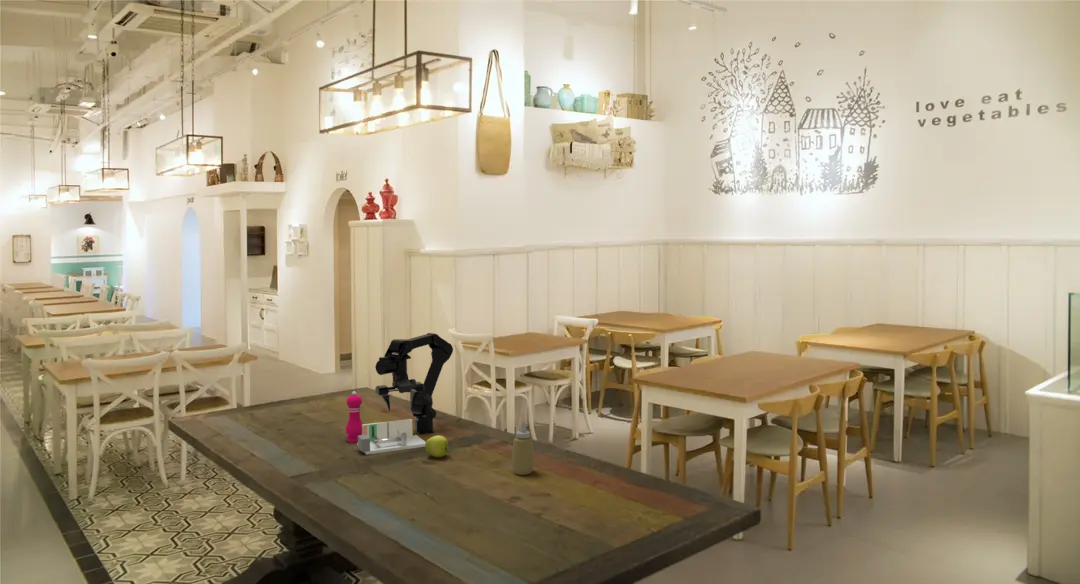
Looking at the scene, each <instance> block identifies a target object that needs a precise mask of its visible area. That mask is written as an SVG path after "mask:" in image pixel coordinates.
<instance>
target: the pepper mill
mask: <svg viewBox="0 0 1080 584" xmlns="http://www.w3.org/2000/svg"><path fill="white" fill-rule="evenodd" d="M362 399H363V398H362V396H360V395H358V394H357V392H356V391H354V390H353V391H352V392H351V395H349V396H348V397H347V398H346V405H347V406H348V408H347V411H348V414H349V415H348V417H349V418H348V421H347V423H346V426H345V433H346V434H347V436H346V442H347V443H356V444H357V443H358V436H359V435H362V425H363V424H364V423H363V421H362V419H361V415H360V414H361V411H362V410H361V409H362V407H361V406H362V405H363V400H362Z"/></svg>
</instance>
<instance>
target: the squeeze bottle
mask: <svg viewBox="0 0 1080 584" xmlns="http://www.w3.org/2000/svg"><path fill="white" fill-rule="evenodd" d="M530 434H531V433H530V431H528V430H527V426H526V422H525V421H520V425H519V429H518V430H517V431H516V434H515V436H516V437H514V438H513V442H512V443H513V444H512V452H511V453H512V454H511V466H512V468H513V471H514V474H516V475H520V476H521V475H523V476H525V475H530V474H531V473H532V472H533V469H534V465H535V462H536V461H535V454H534V453H535V452H534V451H535V450H534V444H533V443H534V442H533V438H531V435H530Z"/></svg>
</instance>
